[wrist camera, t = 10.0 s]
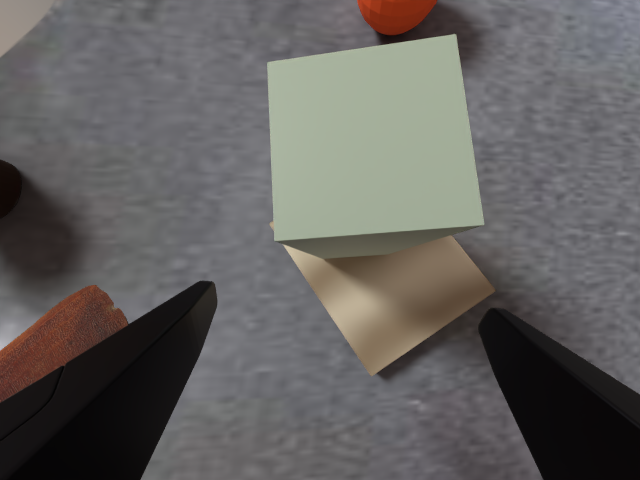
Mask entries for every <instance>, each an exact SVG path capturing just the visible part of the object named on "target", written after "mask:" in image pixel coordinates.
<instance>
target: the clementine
mask: <svg viewBox="0 0 640 480" xmlns="http://www.w3.org/2000/svg"><path fill="white" fill-rule="evenodd" d="M357 1H358V5H359V8H360V11H361V14H362V15H363V17H364V19H365V21H366V22H367V23H368V24H369V25H370V26H371V27H372V28H373V29H374V30H375V31H377V32H379V33H381V34H385V35H398V34H402V33H404V32H407V31H409V30H410V29H412V28H414V27H415V26H417V25H418V24H419V23H420V22H421V21H423V20H424V18H425V17H426V16H427V15H428V13H429V12H430V11H431V9H432V8H433V7H434V5H435V4H436V2H437V0H357Z"/></svg>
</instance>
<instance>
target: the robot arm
mask: <svg viewBox="0 0 640 480" xmlns="http://www.w3.org/2000/svg"><path fill="white" fill-rule="evenodd" d="M216 308H217V294H216V287H215V284H214V282H212V281H199V282H197V283H195V284H194V285H192V286H190V287H189V288H187V289H186V290H184V291H182V292H181V293H179V294H177V295H176V296H174V297H173V298H171V299H169V300H168V301H166V302H164V303H163V304H161V305H160V306H158V307H156V308H155V309H153V310H151V311H150V312H148V313H147V314H145V315H143V316H142V317H140V318H138V319H137V320H135V321H133V322H132V323H130V324H129V325H127V326H125V327H124V328H122V329H120V330H119V331H117V332H116V333H114V334H112V335H111V336H109V337H107V338H106V339H104V340H103V341H101V342H99V343H98V344H96V345H94V346H93V347H91V348H90V349H88V350H86V351H85V352H83V353H81V354H80V355H78V356H76V357H75V358H73V359H72V360H70V361H68V362H67V363H66V364H65V366H60V367H58V368H57V369H55V370H53V371H52V372H50V373H49V374H47V375H45V376H44V377H42V378H40V379H39V380H37V381H35V382H34V383H32V384H30V385H29V386H27V387H25V388H24V389H22V390H20V391H19V392H17V393H15V394H14V395H12V396H10V397H9V398H7V399H5V400H4V401H2V402H0V480H140V479H141V477H142V475H143V473H144V471H145V469H146V467H147V465H148V463H149V461H150V458H151V456H152V454H153V452H154V450H155V448H156V446H157V444H158V442H159V440H160V438H161V435H162V433H163V431H164V429H165V427H166V425H167V423H168V421H169V419H170V417H171V414H172V412H173V410H174V408H175V406H176V404H177V402H178V400H179V398H180V396H181V393H182V391H183V389H184V387H185V385H186V383H187V381H188V379H189V377H190V375H191V372H192V370H193V368H194V366H195V364H196V362H197V360H198V358H199V355H200V353H201V350H202V348H203V345H204V342H205V339H206V336H207V334H208V331H209V328H210V325H211V322H212V319H213V316H214V314H215V311H216ZM478 331H479V334H480V337H481V340H482V342H483V345H484V348H485V350H486V353H487V356H488V359H489V361H490V364H491V367H492V370H493V372H494V375H495V377H496V380H497V382H498V384H499V386H500V388H501V391H502V393H503V395H504V397H505V399H506V401H507V403H508V405H509V408H510V410H511V412H512V414H513V416H514V418H515V420H516V422H517V425H518V427H519V429H520V431H521V433H522V435H523V437H524V439H525V442H526V444H527V446H528V448H529V450H530V452H531V454H532V456H533V459H534V461H535V463H536V465H537V467H538V469H539V471H540V473H541V476H542V478H543V480H640V394H638V393H637V392H635V391H634V390H632V389H630V388H629V387H627V386H626V385H624V384H622V383H621V382H619V381H618V380H616V379H615V378H613V377H611V376H610V375H608V374H607V373H605V372H603V371H602V370H600V369H599V368H597V367H596V366H594V365H592V364H591V363H589V362H588V361H586V360H584V359H583V358H581V357H580V356H578V355H577V354H575V353H573V352H572V351H570V350H569V349H567V348H565V347H564V346H562V345H561V344H559V343H558V342H556V341H554V340H553V339H551V338H550V337H548V336H546V335H545V334H543V333H542V332H540V331H539V330H537V329H535V328H534V327H532V326H531V325H529V324H528V323H526V322H524V321H523V320H521V319H520V318H518V317H516V316H515V315H513V314H512V313H510V312H509V311H507V310H505V309H501V308H490V309H488V311H487V312H486V314H485V315H484V317H483V318H482V320H481V321H480V323H479V325H478Z"/></svg>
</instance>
